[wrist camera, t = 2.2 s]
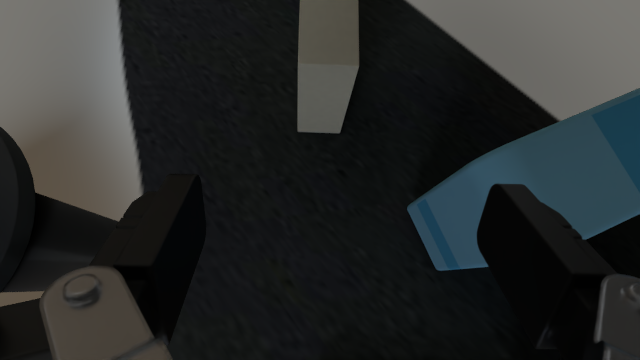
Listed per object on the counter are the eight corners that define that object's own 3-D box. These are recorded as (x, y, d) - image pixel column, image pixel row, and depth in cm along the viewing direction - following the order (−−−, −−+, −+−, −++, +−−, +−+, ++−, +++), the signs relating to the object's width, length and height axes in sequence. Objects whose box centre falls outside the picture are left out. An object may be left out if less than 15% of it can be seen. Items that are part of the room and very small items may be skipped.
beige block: (297, 132, 28) (297, 63, 19) (299, 56, 29) (301, -39, 21) (340, 133, 28) (359, 66, 19) (340, 58, 30) (358, -36, 21)
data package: (430, 272, 26) (537, 264, 14) (399, 210, 27) (477, 155, 15) (580, 203, 28) (782, 146, 16) (546, 147, 29) (716, 55, 17)
